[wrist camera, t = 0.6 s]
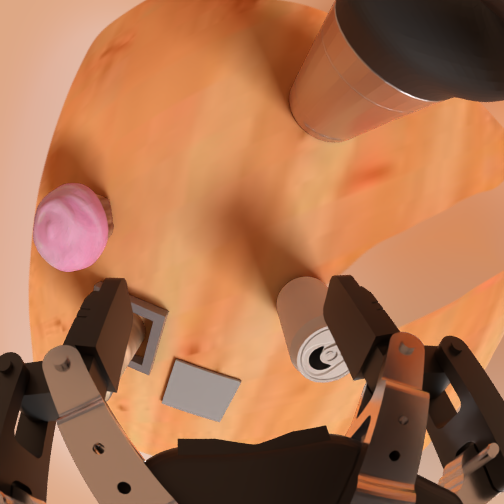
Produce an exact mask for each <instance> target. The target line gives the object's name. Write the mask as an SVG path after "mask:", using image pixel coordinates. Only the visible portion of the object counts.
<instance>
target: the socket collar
mask: <svg viewBox="0 0 504 504" xmlns="http://www.w3.org/2000/svg"><path fill="white" fill-rule="evenodd" d="M102 284H103V282H101V281H100V282H98V283H97V284H95V285H94V290H93V291H99V290H100V288H101V286H102ZM129 297H130V301H131V306H132V310H133V313H135V314H137V315H140V316H142V317H144V318H147V319H149V320H151V321H153V325H152V328H151V332H150V336H149V340H148V344H147V347H146V351H145V355H144V358H142V357H140V356H138V355H134V356H133V358H132V359H131V361H130V363H129V364H128V367H131V368H133V369H135V370H137V371H140V372H142V373H145V374H147V375H149V374H150V372H151V370H152V367H153V363H154V360H155V356H156V352H157V349H158V345H159V342H160V338H161V335H162V332H163V328H164V325H165V322H166V318H167V315H168V312H169V311H167V310H165V309H162V308H160V307H157V306H155V305H152V304H150V303H148V302H145V301H143V300H141V299H139V298H136V297H134V296H132V295H129Z"/></svg>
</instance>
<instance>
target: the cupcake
mask: <svg viewBox="0 0 504 504" xmlns="http://www.w3.org/2000/svg"><path fill="white" fill-rule="evenodd" d="M113 228H114V225H113V218H112V213H111V206H110V202H109V200H108V199H107V198H105V197H103V196H101V195H97V194H95V193H94V192H93V191H92V190H91V189H90V188H89V187H87V186H85V185H83V184H79V183H67V184H64V185H61V186H59V187H58V188H56V189H55V190H53V191H51V192H50V193H49V194H48V195H46V196H45V197H44V198H43V199H42V201H41V202H40V204H39V205H38V208H37V210H36V214H35V219H34V228H33V240H34V243H35V246H36V248H37V250H38V252H39V253H40V255H41V256H42V257H43V258H44V259H45V260H46V261H47V262H48V263H49V264H50V265H51V266H53V267H54V268H56V269H58V270H61V271H65V272H71V271H76V270H80V269H84V268H87V267H89V266H91V265H92V264H93V263H94V262H95V261H96V260H97V259H98V258H99V256H100V255H101V253H102V252H103V250H104V248H105V246H106V243H107V240H108V238H109V236H110V235H111V234H112V232H113Z"/></svg>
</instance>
